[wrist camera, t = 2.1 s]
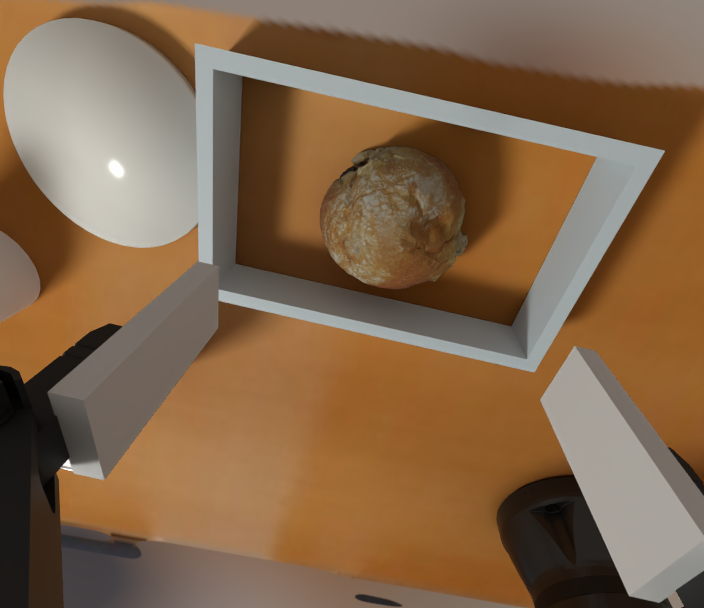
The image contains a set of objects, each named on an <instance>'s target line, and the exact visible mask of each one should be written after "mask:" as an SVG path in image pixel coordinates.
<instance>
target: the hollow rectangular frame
mask: <svg viewBox="0 0 704 608" xmlns="http://www.w3.org/2000/svg"><path fill="white" fill-rule="evenodd" d="M243 76H246V77H250V78H254V79H259V80H263V81H267V82H272V83H276V84H281V85H285V86H289V87H294V88H298V89H302V90H307V91H311V92H316V93H320V94H324V95H329V96H333V97H338V98H342V99H346V100H351V101H355V102H359V103H364V104H368V105H373V106H377V107H381V108H386V109H390V110H394V111H399V112H403V113H408V114H412V115H416V116H421V117H425V118H429V119H434V120H438V121H443V122H447V123H451V124H456V125H460V126H464V127H469V128H473V129H478V130H482V131H486V132H491V133H495V134H499V135H504V136H508V137H513V138H517V139H521V140H526V141H530V142H534V143H539V144H543V145H548V146H552V147H556V148H561V149H565V150H570V151H574V152H578V153H583V154H587V155H591V156H596V157H597V158H596V160H595V162H594V164H593V166H592V168H591V170H590V172H589V174H588V176H587V178H586V180H585V182H584V184H583V186H582V188H581V190H580V192H579V194H578V196H577V198H576V200H575V202H574V204H573V206H572V208H571V210H570V212H569V214H568V216H567V218H566V220H565V222H564V223H563V225H562V227H561V229H560V231H559V233H558V235H557V237H556V239H555V241H554V243H553V245H552V247H551V249H550V251H549V253H548V255H547V257H546V259H545V261H544V263H543V265H542V267H541V269H540V271H539V273H538V275H537V277H536V279H535V281H534V283H533V285H532V287H531V289H530V291H529V293H528V295H527V297H526V299H525V301H524V303H523V305H522V307H521V308H520V310H519V312H518V314H517V316H516V318H515V320H514V322H513V324H512V326H507V325H503V324H499V323H494V322H490V321H485V320H481V319H477V318H472V317H468V316H463V315H459V314H455V313H450V312H446V311H441V310H437V309H432V308H428V307H424V306H419V305H415V304H410V303H406V302H402V301H397V300H393V299H388V298H384V297H380V296H375V295H371V294H366V293H362V292H358V291H353V290H349V289H344V288H340V287H336V286H331V285H327V284H322V283H318V282H314V281H309V280H305V279H300V278H296V277H292V276H287V275H283V274H278V273H274V272H270V271H265V270H261V269H256V268H252V267H248V266H243V265H239V264H236V239H237V212H238V185H239V158H240V131H241V104H242V77H243ZM195 80H196V133H197V187H198V240H199V262H203V263H207V264H212V265H216V266H219V301H222V302H226V303H230V304H235V305H239V306H244V307H248V308H252V309H257V310H261V311H266V312H270V313H274V314H279V315H283V316H288V317H292V318H297V319H301V320H305V321H310V322H314V323H319V324H323V325H327V326H332V327H336V328H341V329H345V330H349V331H354V332H358V333H363V334H367V335H371V336H376V337H380V338H385V339H389V340H394V341H398V342H402V343H407V344H411V345H416V346H420V347H424V348H429V349H433V350H438V351H442V352H446V353H451V354H455V355H460V356H464V357H468V358H473V359H477V360H482V361H486V362H491V363H495V364H499V365H504V366H508V367H513V368H517V369H521V370H526V371H530V372H535V371H536V369H537V367H538V365H539V364H540V362H541V360H542V359H543V357H544V355H545V354H546V352H547V350H548V349H549V347H550V345H551V343H552V342H553V340H554V338H555V337H556V335H557V333H558V332H559V330H560V328H561V327H562V325H563V323H564V321H565V320H566V318H567V316H568V315H569V313H570V311H571V310H572V308H573V306H574V304H575V303H576V301H577V299H578V298H579V296H580V294H581V293H582V291H583V289H584V288H585V286H586V284H587V282H588V281H589V279H590V277H591V276H592V274H593V272H594V271H595V269H596V267H597V266H598V264H599V262H600V260H601V259H602V257H603V255H604V254H605V252H606V250H607V249H608V247H609V245H610V243H611V242H612V240H613V238H614V237H615V235H616V233H617V232H618V230H619V228H620V227H621V225H622V223H623V221H624V220H625V218H626V216H627V215H628V213H629V211H630V210H631V208H632V206H633V205H634V203H635V201H636V199H637V198H638V196H639V194H640V193H641V191H642V189H643V188H644V186H645V184H646V183H647V181H648V179H649V177H650V176H651V174H652V172H653V171H654V169H655V167H656V166H657V164H658V162H659V160H660V159H661V157H662V155H663V154H664V152H665V151H664V150H659V149H655V148H651V147H646V146H642V145H638V144H633V143H629V142H624V141H620V140H616V139H611V138H607V137H603V136H598V135H594V134H589V133H585V132H581V131H576V130H572V129H568V128H563V127H559V126H554V125H550V124H546V123H541V122H537V121H533V120H528V119H524V118H519V117H515V116H511V115H506V114H502V113H498V112H493V111H489V110H484V109H480V108H476V107H471V106H467V105H463V104H458V103H454V102H449V101H445V100H441V99H436V98H432V97H428V96H423V95H419V94H414V93H410V92H406V91H401V90H397V89H393V88H388V87H384V86H379V85H375V84H371V83H366V82H362V81H358V80H353V79H349V78H344V77H340V76H336V75H331V74H327V73H323V72H318V71H314V70H309V69H305V68H301V67H296V66H292V65H288V64H283V63H279V62H274V61H270V60H266V59H261V58H257V57H253V56H248V55H244V54H239V53H235V52H231V51H226V50H222V49H218V48H213V47H209V46H204V45H200V44H196V43H195Z"/></svg>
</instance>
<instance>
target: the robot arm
mask: <svg viewBox="0 0 704 608" xmlns="http://www.w3.org/2000/svg"><path fill="white" fill-rule="evenodd" d="M218 307H219V266H216V265H212V264H207V263H203V262H197V263H195V264H194V265H193V266H192V267H191V268H190V269H189V270H187V271H186V272H185V273H184V274H183V275H182V276H181V277H179V278H178V279H177V280H176V281H175V282H174V283H172V284H171V285H170V286H169V287H168V288H167V289H166V290H164V291H163V292H162V293H161V294H160V295H159V296H157V297H156V298H155V299H154V300H153V301H152V302H151V303H149V304H148V305H147V306H146V307H145V308H144V309H143V310H141V311H140V312H139V313H138V314H137V315H136V316H134V317H133V318H132V319H131V320H130V321H129V322H128V323H126V324H125V325H124V326H119V325H114V324H107V325H105V326H103V327H100V328H98V329H96V330H93V331H91V332H89V333H88V334H87V335H86V336H84V337H83V338H82V339H81V340H79V341H78V342H77V343H76V344H75V346H72V347H70V348H69V349H68V350H67V351H65V352H64V353H63V356H59V357H58V358H57V359H55V360H54V361H53V362H52V363H50V364H49V365H48V366H47V367H45V368H44V369H43V370H42V371H40V372H39V373H38V374H36V375H35V376H34V377H33V378H31V379H30V380H29V381H28V382H26V383H25V384H24V383H23V380H22V378H21V375H20V372H19V371H17V370H15V369H13V368H12V367H7V366H0V608H64V602H63V580H62V579H63V578H62V552H61V527H60V502H59V479H58V477H57V474H56V472H57V471H58V470H59V469H60V468H61V467H62V466H63V464H64V463H65V462H66V461H67V460H68V459H69V461H70V464H71V467H72V470H73V473H74V474H79V475H83V476H88V477H92V478H97V479H101V480H105V479H106V477H107V476H108V475H109V473H110V472H111V471H112V469H113V468H114V467H115V465H116V464H117V463H118V461H119V460H120V459H121V457H122V456H123V455H124V453H125V452H126V451H127V449H128V448H129V447H130V445H131V444H132V443H133V441H134V440H135V439H136V437H137V436H138V435H139V433H140V432H141V431H142V429H143V428H144V427H145V425H146V424H147V423H148V421H149V420H150V419H151V417H152V416H153V415H154V413H155V412H156V411H157V409H158V408H159V407H160V405H161V404H162V403H163V401H164V400H165V399H166V397H167V396H168V394H169V393H170V392H171V390H172V389H173V388H174V386H175V385H176V384H177V382H178V381H179V380H180V378H181V377H182V376H183V374H184V373H185V372H186V370H187V369H188V368H189V366H190V365H191V364H192V362H193V361H194V360H195V358H196V357H197V356H198V354H199V353H200V352H201V350H202V349H203V348H204V346H205V345H206V344H207V342H208V341H209V340H210V338H211V337H212V336H213V334H214V333H215V332H216V330H217V329H218ZM540 401H541V403H542V405H543V407H544V409H545V412H546V414H547V416H548V418H549V421H550V423H551V425H552V427H553V429H554V432H555V434H556V436H557V438H558V440H559V443H560V445H561V447H562V449H563V451H564V454H565V456H566V458H567V460H568V462H569V465H570V467H571V469H572V471H573V473H574V476H575V477H559V478H552V479H547V480H542V481H539V482H535V483H532V484H530V485H527V486H525V487H523V488H521V489H519V490H517V491H516V492H514V493H513V494H511V495H510V496H509V497H508V498H507V499H506V500H505V501H504V502H503V503H502V504H501V506H500V508H499V510H498V513H497V525H498V529H499V533H500V538H501V541H502V544H503V546H504V548H505V550H506V551H507V553H508V554H509V556H510V558H511V560H512V562H513V564H514V566H515V568H516V570H517V571H518V573H519V575H520V577H521V579H522V581H523V582H524V584H525V586H526V588H527V590H528V591H529V593H530V595H531V597H532V599H533V602H534V606H535V608H672V606H671V604H670V602H669V600H668V598H667V597H668V596H670V595H671V594H673V593H674V592H677V594H678V596H679V597H680V599H681V601H682V603H683V605H684V607H682V608H704V486H703V482H702V481H701V479H700V478H699V477H698V475H697V474H696V473H695V472H694V470H693V469H692V468H691V466H690V465H689V464H688V463H687V462H686V461H685V460H684V459H682V458H681V457H680V456H679V455H678V454H677V453H676V452H675V451H674V450H672V449H671V448H669V447H667V446H666V445H665V443H664V442H663V441H662V439H661V438H660V437H659V435H658V434H657V433H656V431H655V430H654V429H653V427H652V426H651V425H650V423H649V422H648V421H647V419H646V418H645V417H644V415H643V414H642V413H641V411H640V410H639V409H638V407H637V406H636V404H635V403H634V402H633V400H632V399H631V398H630V396H629V395H628V394H627V392H626V391H625V390H624V388H623V387H622V386H621V384H620V383H619V382H618V380H617V379H616V378H615V376H614V375H613V374H612V372H611V371H610V370H609V368H608V367H607V366H606V364H605V363H604V362H603V360H602V359H601V358H600V356H599V355H598V354H597V352H596V351H594V350H590V349H585V348H581V347H576V346H574V348H573V350H572V351H571V353H570V354H569V356H568V357H567V359H566V361H565V362H564V364H563V365H562V367H561V368H560V370H559V371H558V373H557V375H556V376H555V378H554V379H553V381H552V382H551V384H550V385H549V387H548V389H547V390H546V392H545V393H544V395H543V396H542V398H541V399H540Z"/></svg>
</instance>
